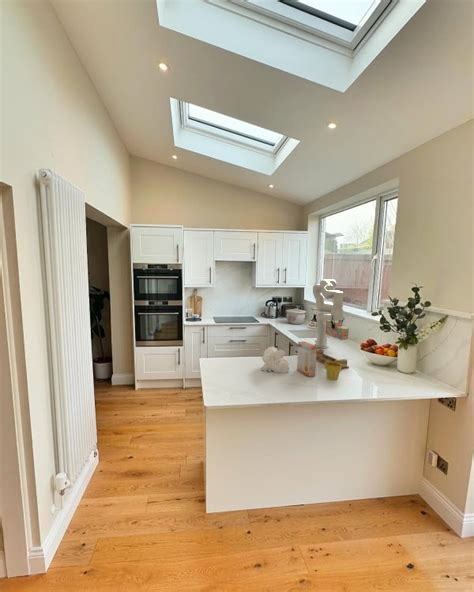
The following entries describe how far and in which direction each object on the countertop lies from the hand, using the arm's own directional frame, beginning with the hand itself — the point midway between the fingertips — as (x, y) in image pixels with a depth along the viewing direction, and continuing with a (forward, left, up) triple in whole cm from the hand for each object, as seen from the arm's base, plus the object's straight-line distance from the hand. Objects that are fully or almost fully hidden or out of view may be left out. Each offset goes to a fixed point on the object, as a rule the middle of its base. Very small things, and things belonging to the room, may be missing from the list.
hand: (336, 328), depth 241 cm
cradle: (+11, -16, -24) cm, 31 cm away
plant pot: (+38, -36, -24) cm, 58 cm away
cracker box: (+24, -47, -24) cm, 58 cm away
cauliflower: (+11, -65, -24) cm, 70 cm away
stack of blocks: (+1, 0, -8) cm, 8 cm away
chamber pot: (-137, +56, -24) cm, 150 cm away
